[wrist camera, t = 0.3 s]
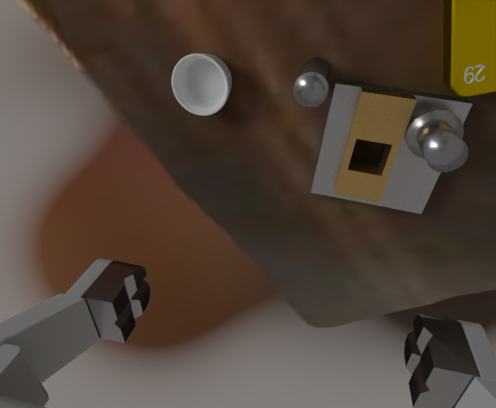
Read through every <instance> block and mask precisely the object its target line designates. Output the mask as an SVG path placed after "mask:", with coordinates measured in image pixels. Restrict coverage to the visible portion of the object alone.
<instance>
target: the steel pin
mask: <svg viewBox="0 0 496 408" xmlns="http://www.w3.org/2000/svg"><path fill="white" fill-rule="evenodd" d="M327 72H328V65H327V63H326V61H325V60H323V59H322V58H313V59H311V60H310V61H309V62H308V63H307V65H306V67H305V70H304V72H303V73H302V74H301V75H300V76H299V77H298V78H297V80H296V82H295V84H294V88H293V93H294V97H295V99H296V100H297V102H298V103H299V104H301V105H302V106H305V107H315V106H318V105H320V104H321V103H322V102H323V101H324V100H325V99H326V97H327V94H328V88H329V86H328V81H327Z"/></svg>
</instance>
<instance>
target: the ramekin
mask: <svg viewBox="0 0 496 408" xmlns="http://www.w3.org/2000/svg"><path fill="white" fill-rule="evenodd" d="M231 87H232V77H231V73H230V71H229V69H228V67H227V65H226V64H225V63H224V62H223V61H222V60H221V59H220V58H218V57H217V56H215V55H212V54H207V53H205V54H204V53H202V54H198V53H197V54H190V55H187V56H185V57H184V58H182V59H181V60H180V61H179V62H178V63H177V64H176V66H175V68H174V70H173V74H172V89H173V92H174V95H175V97H176V99H177V100H178V102H179V103H180V104H181V105H182V106H183V107H184V108H185V109H186V110H188V111H189V112H191V113H193V114H196V115H202V116H206V115H211V114H214V113H216V112H218V111H219V110H220V109H221V108H222V107H223V106H224V104H225V103H226V101H227V98H228V96H229V94H230V91H231Z"/></svg>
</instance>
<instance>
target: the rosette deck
mask: <svg viewBox="0 0 496 408" xmlns="http://www.w3.org/2000/svg"><path fill="white" fill-rule="evenodd" d="M471 106H472V103H471V102H470V101H469V100H468V99H464V98H458V97H451V96H444V95H437V94H430V93H424V92H417V91H410V90H403V89H396V88H389V87H383V86H376V85H369V84H362V83H355V82H348V81H342V80H336V81H335V85H334V90H333V94H332V99H331V103H330V107H329V112H328V116H327V121H326V125H325V129H324V134H323V138H322V143H321V147H320V151H319V156H318V160H317V165H316V169H315V173H314V178H313V182H312V187H311V193H316V194H321V195H326V196H331V197H337V198H342V199H347V200H352V201H357V202H362V203H367V204H373V205H378V206H383V207H388V208H393V209H398V210H403V211H408V212H414V213H419V214H422V212H423V210H424V207H425V205H426V203H427V201H428V199H429V197H430V194H431V192H432V190H433V188H434V186H435V184H436V182H437V179H438V177H439V175H440V173H441V172H450V171H453V170H456V169H457V168H459V167H460V166H462V165H463V164H464V162H465V161H466V159H467V157H468V153H469V151H468V147H467V145H466V143H465V142H464V141H463V140H462V138H463V134H464V127H463V123H464V121H465V119H466V117H467V115H468V113H469V110H470V108H471ZM356 139H360V140H366V141H372V142H378V143H384V144H385V145H384V148H383V151H382V154H381V157H380V160H379V162H374V161H369V160H363V159H357V158H352V157H351V156H352V153H353V149H354V146H355V142H356Z"/></svg>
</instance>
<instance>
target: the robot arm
mask: <svg viewBox="0 0 496 408" xmlns="http://www.w3.org/2000/svg"><path fill="white" fill-rule="evenodd" d="M146 276H147V273H146V269H145V267H142V266H139V265H134V264H128V263H124V262H119V261H113V260H108V259H102V258H100V259H98V260H96V261H95V262H94V263H93V264H92V265H91V266H90V267H89V268H88V269H87V271H86V272H85V273H84V274H83V275H82V276H81V277H80V278H79V279H78V281H77V282H76V283H75V284H74V285H73V286H72V287H71V288H70V289H69V291H68V292H67V293H66V294H59V295H57V296H55V297H53V298H51V299H48V300H46V301H44V302H42V303H40V304H38V305H36V306H34V307H32V308H30V309H28V310H26V311H23V312H21V313H20V314H17V315H15V316H13V317H11V318H9V319H7V320H5V321H3V322H1V323H0V408H45V407H44V406H45V404H46V403H47V401H48V400H49V399H48V394H47V392H46V390H45V389H44V387H43V385H42V384H41V383H42V382H43V381H45V380H46V379H48V378H49V377H50V376H52V375H53V374H54V373H56V372H57V371H58V370H60V369H61V368H63V367H64V366H65V365H67V364H68V363H69V362H71V361H72V360H73V359H75V358H76V357H77V356H79V355H80V354H82V353H83V352H84V351H86V350H87V349H88V348H90V347H91V346H92V345H94V344H95V343H97V342H98V341H99V340H100V339H105V340H111V341H116V342H121V343H126V341H127V339H128V338H129V336H130V334H131V333H132V331H133V329H134V328H135V326H136V322H135V318H137V317H139V316H140V315H142V314H143V313H144V311H145V310H146V308H147V305H148V303H149V299H150V287H149V284H148V283H147V282H146V281H145V280H144V278H145V277H146ZM413 327H414V330H413V331H411V332H409V333H408V335H407V337H406V340H405V348H404V357H405V364H406V367H407V369H408V370H409V371H410V372H411V374H412V377H411V379H410V381H409V388H410V393H411V399H412V404H413V408H496V357H495V355H494V352H493V350H492V348H491V345H490V343H489V341H488V338H487V336H486V334H485V331H484V329H483V327H482V326H481V325H480V324H476V323H470V322H465V321H457V320H454V319H448V318H441V317H435V316H428V315H423V314H417V315H416V316H415V318H414V320H413Z"/></svg>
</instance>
